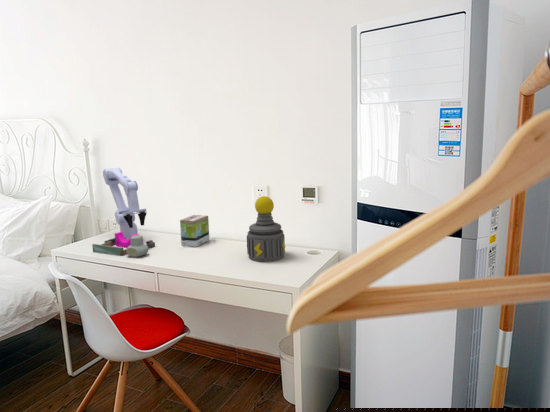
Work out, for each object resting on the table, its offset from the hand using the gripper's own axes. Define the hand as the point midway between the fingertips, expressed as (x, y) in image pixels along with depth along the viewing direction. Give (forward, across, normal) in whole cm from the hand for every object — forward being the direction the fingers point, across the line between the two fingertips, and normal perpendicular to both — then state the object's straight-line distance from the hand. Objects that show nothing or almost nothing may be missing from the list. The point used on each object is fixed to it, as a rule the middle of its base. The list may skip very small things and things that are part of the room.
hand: (136, 226), depth 242 cm
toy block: (+10, -6, 0) cm, 12 cm away
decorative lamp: (+21, +16, -77) cm, 81 cm away
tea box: (+14, +16, -28) cm, 35 cm away
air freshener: (+13, -15, -18) cm, 27 cm away
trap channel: (+10, -10, 0) cm, 14 cm away
